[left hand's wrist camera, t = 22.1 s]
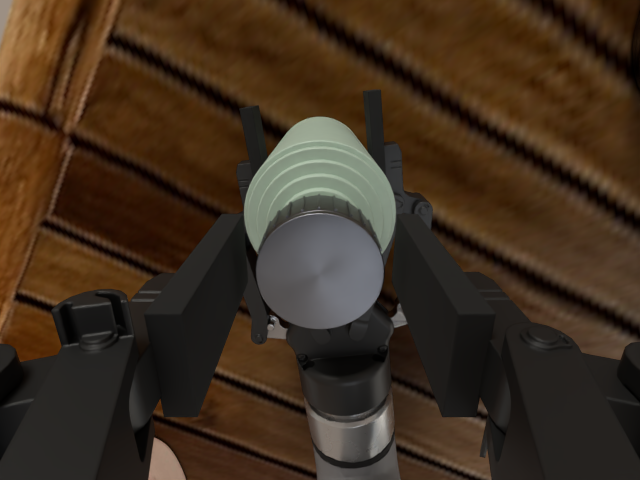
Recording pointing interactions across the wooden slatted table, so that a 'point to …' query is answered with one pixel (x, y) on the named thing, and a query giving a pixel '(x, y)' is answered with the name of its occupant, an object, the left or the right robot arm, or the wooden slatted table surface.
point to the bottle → (320, 177)
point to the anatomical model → (164, 463)
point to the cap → (320, 263)
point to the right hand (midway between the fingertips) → (310, 99)
